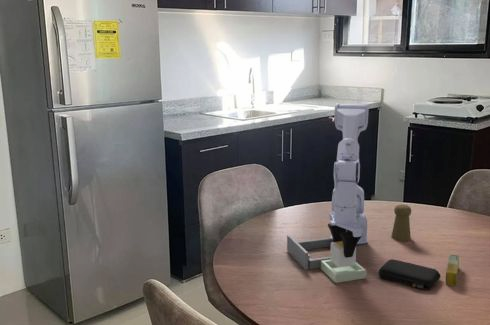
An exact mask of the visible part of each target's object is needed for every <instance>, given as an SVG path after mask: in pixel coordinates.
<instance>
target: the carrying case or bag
mask: <svg viewBox="0 0 490 325" xmlns="http://www.w3.org/2000/svg"><path fill="white" fill-rule="evenodd" d="M377 273H378V276H380V277H381V278H382V279H385V280H388V281H392V282H395V283H398V284H402V285H403V284H404V285H407V286H411V287H413V288H418V289H422V290H426V291H427V290H428V291H429V290H432V289H433V288H434V287H435V286H436V284H438V281H439V280H440V279H441V273H440V272H439V271H438V270H437V269H434V268H432V267H427V266H425V265H424V266H423V265H419V264H414V263H411V262H407V261H403V260H398V259H393V258H391V259H388V260H387V261H385V263H384V264H382V266H380V268H379V269H378V270H377Z"/></svg>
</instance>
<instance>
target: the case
mask: <svg viewBox="0 0 490 325" xmlns="http://www.w3.org/2000/svg"><path fill="white" fill-rule="evenodd" d="M332 242H333V238H332V237H330V236H329V237H326V238H323V237H322V238H315V239H308V240H300V241H297V240H296V239H295V238H294V237H293V236H292V235H291V234H287V235H286V243H287V244H286V251H287V252H288V254H290V256H292V257H293V259H294V260H295V261H296V262H297V263H298V264H299V265H300V266H301V267H302V268H303V269H304V270H305V271H306V270H314V269H321V261H324V260H330V256H324V257H317V258H312V257H311V255H310V254H309V252H308V251H307V250H312V249H320V248H326V247H331V243H332Z"/></svg>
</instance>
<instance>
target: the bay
mask: <svg viewBox="0 0 490 325" xmlns="http://www.w3.org/2000/svg"><path fill="white" fill-rule="evenodd" d="M320 270H322V272H324V273H325V275H327V276H328V277H329V278H330V279H331V280H332V281H333V282H334V283H336V284H339V283H343V282H350V281H356V280H362V279H366V278H367V269H365V268H364V266H362V265H361V264H359V263H358V262H357V261H356V264H355V265H351V266H344V267H338V266H337V265H336V264H334V263H333V262H332V261H331V260H324V261H321V268H320Z"/></svg>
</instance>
